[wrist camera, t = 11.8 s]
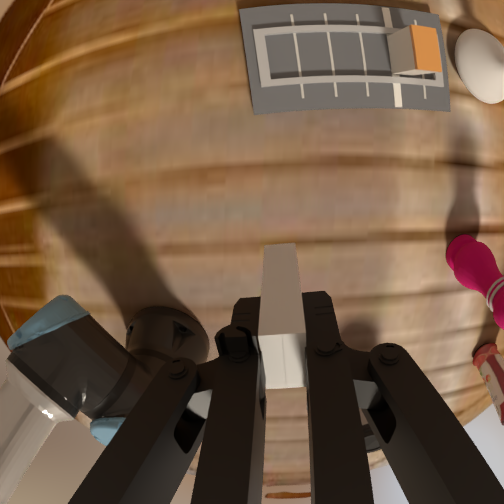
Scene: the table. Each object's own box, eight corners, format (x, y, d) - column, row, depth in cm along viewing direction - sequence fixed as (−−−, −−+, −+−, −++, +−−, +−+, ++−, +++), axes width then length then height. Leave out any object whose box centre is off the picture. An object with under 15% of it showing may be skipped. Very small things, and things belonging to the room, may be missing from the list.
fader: (391, 73, 31) (417, 69, 24) (386, 36, 28) (411, 24, 22) (413, 75, 30) (442, 71, 23) (408, 38, 28) (435, 28, 21)
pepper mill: (453, 226, 41) (528, 298, 23) (483, 236, 41) (555, 305, 23) (436, 266, 44) (497, 350, 26) (466, 274, 44) (526, 350, 27)
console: (255, 114, 37) (253, 115, 34) (240, 13, 30) (238, 7, 28) (443, 110, 34) (453, 112, 31) (432, 17, 27) (441, 13, 25)
